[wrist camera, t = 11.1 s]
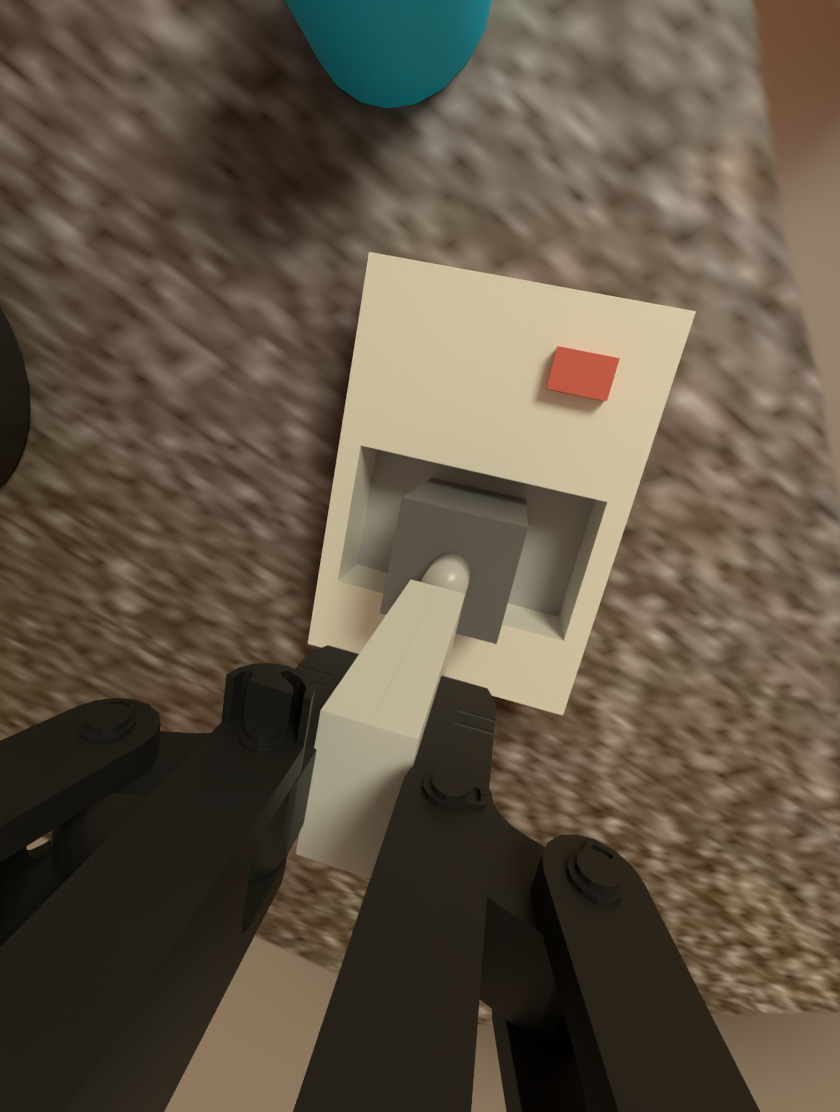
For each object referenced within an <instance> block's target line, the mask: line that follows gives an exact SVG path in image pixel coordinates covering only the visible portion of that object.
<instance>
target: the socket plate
mask: <svg viewBox="0 0 840 1112" xmlns="http://www.w3.org/2000/svg"><path fill="white" fill-rule="evenodd" d="M695 312H696V311H690V310H685V309H679V308H674V307H668V306H663V305H657V304H652V303H646V302H641V301H635V300H630V299H624V298H619V297H613V296H608V295H602V294H597V293H591V292H586V291H580V290H575V289H569V288H564V287H559V286H553V285H548V284H542V283H537V282H531V281H526V280H520V279H515V278H509V277H504V276H498V275H493V274H487V273H482V272H476V271H471V270H465V269H460V268H454V267H449V266H443V265H438V264H432V263H427V262H421V261H416V260H410V259H405V258H399V257H394V256H388V255H383V254H377V253H372V252H369V256H368V263H367V269H366V276H365V282H364V288H363V295H362V301H361V307H360V314H359V320H358V327H357V333H356V339H355V346H354V352H353V358H352V365H351V371H350V378H349V384H348V390H347V397H346V403H345V409H344V416H343V422H342V429H341V435H340V441H339V448H338V454H337V460H336V467H335V473H334V480H333V486H332V492H331V499H330V505H329V511H328V518H327V524H326V531H325V537H324V543H323V550H322V556H321V562H320V569H319V575H318V582H317V588H316V594H315V601H314V607H313V613H312V620H311V626H310V633H309V639H308V644H311V645H314V646H318V647H321V648H322V647H324V646H327V645H329V646H333V647H336V648H340V649H343V650H347V651H350V652H354V653H357V654H360V652H361V651H362V650H363V648H364V647H365V645H366V644H367V642H368V641H369V639H370V638H371V636H372V635H373V634H374V632H375V631H376V629H377V628H378V626H379V625H380V623H381V622H382V621H383V619H384V618H385V616H386V615H385V614H381V613H380V609H381V604H382V599H383V594H384V589H385V583H386V578H387V573H388V568H389V563H390V558H391V552H392V547H393V542H394V537H395V532H396V527H397V522H398V516H399V511H400V506H401V501H402V497H404V496H405V495H407V494H408V493H410V492H411V491H413V490H414V489H416V488H417V487H419V486H420V485H422V484H423V483H425V482H426V481H427V480H429V479H430V478H436V479H441V480H445V481H449V482H454V483H458V484H463V485H467V486H471V487H476V488H480V489H484V490H489V491H493V492H497V493H502V494H506V495H510V496H515V497H519V498H523V499H526V505H527V518H528V530H527V534H526V537H525V541H524V545H523V548H522V552H521V556H520V560H519V563H518V567H517V571H516V574H515V578H514V582H513V586H512V589H511V593H510V597H509V600H508V604H507V608H506V611H505V615H504V619H503V623H502V626H501V630H500V634H499V637H498V641H497V644H494V643H490V642H486V641H482V640H479V639H475V638H471V637H467V636H464V635H460V634H455V638H454V642H453V646H452V650H451V654H450V658H449V662H448V666H447V670H446V674H445V676H446V677H449V678H453V679H456V680H460V681H463V682H467V683H471V684H474V685H478V686H481V687H485V688H488V690H489V692H490V694H491V695H492V696H496V697H499V698H503V699H506V700H510V701H513V702H517V703H520V704H524V705H528V706H531V707H535V708H538V709H542V710H545V711H549V712H552V713H556V714H560V715H563V714H564V711H565V707H566V704H567V701H568V698H569V695H570V692H571V689H572V686H573V683H574V680H575V677H576V674H577V671H578V668H579V665H580V662H581V659H582V656H583V653H584V650H585V647H586V644H587V641H588V638H589V635H590V632H591V628H592V625H593V622H594V619H595V616H596V613H597V610H598V607H599V604H600V601H601V598H602V595H603V592H604V589H605V586H606V583H607V580H608V577H609V574H610V571H611V568H612V565H613V562H614V559H615V556H616V553H617V549H618V546H619V543H620V540H621V537H622V534H623V531H624V528H625V525H626V522H627V519H628V516H629V513H630V510H631V507H632V504H633V501H634V498H635V495H636V492H637V489H638V486H639V483H640V480H641V477H642V474H643V470H644V467H645V464H646V461H647V458H648V455H649V452H650V449H651V446H652V443H653V440H654V437H655V434H656V431H657V428H658V425H659V422H660V419H661V416H662V413H663V410H664V407H665V404H666V401H667V398H668V395H669V391H670V388H671V385H672V382H673V379H674V376H675V373H676V370H677V367H678V364H679V361H680V358H681V355H682V352H683V349H684V346H685V343H686V340H687V337H688V334H689V331H690V328H691V325H692V322H693V319H694V316H695Z"/></svg>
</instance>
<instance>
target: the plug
mask: <svg viewBox="0 0 840 1112" xmlns="http://www.w3.org/2000/svg"><path fill="white" fill-rule="evenodd" d="M527 530H528V518H527V505H526V499H523V498H519V497H515V496H510V495H506V494H502V493H497V492H493V491H489V490H484V489H480V488H476V487H471V486H467V485H463V484H458V483H454V482H449V481H445V480H441V479H436V478H430V479H429V480H427V481H426V482H425V483H423V484H422V485H420V486H419V487H417V488H416V489H414V490H413V491H411V492H410V493H408V494H407V495H405V496H404V497H402V501H401V506H400V511H399V516H398V522H397V527H396V532H395V537H394V542H393V547H392V552H391V558H390V563H389V568H388V573H387V578H386V583H385V589H384V594H383V599H382V604H381V609H380V613H381V614H385V615H387V613H388V612H389V610H390V609H391V607H392V606H393V605H394V603H395V602H396V600H397V599H398V597H399V596H400V594H401V593H402V591H403V590H404V589H405V587H406V586H407V584H408V583H409V581H410V580H415V581H418V582H422V583H426V584H430V585H434V586H438V587H442V588H445V589H449V590H453V591H457V592H461V593H465V597H464V601H463V605H462V609H461V614H460V618H459V622H458V626H457V630H456V634H460V635H464V636H467V637H471V638H475V639H479V640H482V641H486V642H490V643H494V644H497V641H498V637H499V634H500V630H501V626H502V623H503V619H504V615H505V611H506V608H507V604H508V600H509V597H510V593H511V589H512V586H513V582H514V578H515V574H516V571H517V567H518V563H519V560H520V556H521V552H522V548H523V545H524V541H525V537H526V534H527Z"/></svg>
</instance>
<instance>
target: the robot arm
mask: <svg viewBox="0 0 840 1112" xmlns="http://www.w3.org/2000/svg"><path fill="white" fill-rule="evenodd" d="M28 421H29V392H28V383H27V377H26V372H25V367H24V363H23V359H22V356H21V352H20V349H19V347H18V344H17V341H16V339H15V336H14V334H13V331H12V329H11V327H10V325H9V323H8V321H7V319H6V317H5V315H4V314H3V312H2V310H1V308H0V485H1V484H2V483H3V482H4V481H5V480H6V479H7V477H8V476H9V475H10V474H11V472H12V470H13V469H14V467H15V465H16V463H17V461H18V459H19V457H20V455H21V452H22V449H23V446H24V443H25V439H26V435H27V429H28ZM464 597H465V593H461V592H457V591H453V590H449V589H445V588H442V587H438V586H434V585H430V584H426V583H422V582H418V581H415V580H410V581H409V583H408V584H407V586H406V587H405V589H404V590H403V591H402V593H401V594H400V596H399V597H398V599H397V600H396V602H395V603H394V605H393V606H392V607H391V609H390V610H389V612H388V613H387V615H386V616H385V618H384V619H383V621H382V622H381V623H380V625H379V626H378V628H377V629H376V631H375V632H374V634H373V635H372V636H371V638H370V639H369V641H368V642H367V644H366V645H365V647H364V648H363V650H362V651H361V652H360V654H357V653H354V652H350V651H347V650H343V649H340V648H336V647H333V646H329V645H327V646H324V647H322V648H320V649H317V650H315V651H313V652H310V653H309V654H308V655H307V656H306V657H305V658H304V659H303V660H302V662H301V663H300V664H299V665H298V667H296V668H295V669H293V668H291V667H289V666H284V665H278V664H272V663H266V664H251V665H247V666H243V667H239V668H237V669H235V670H234V671H232V672H230V673H228V674H227V676H226V685H225V694H224V703H223V713H222V722H221V723H220V724H219V725H218V726H217V727H216V728H215V729H214V730H213V732H212V733H180V732H165V731H160V719H159V714H158V712H157V711H156V710H155V709H154V708H152V707H151V706H150V705H149V704H146V703H143V702H140V701H137V700H135V699H123V698H112V699H104V700H96V701H93V702H90V703H86V704H83V705H80V706H77V707H75V708H73V709H70V710H68V711H66V712H64V713H61V714H59V715H57V716H55V717H52V718H50V719H48V720H46V721H43V722H41V723H39V724H37V725H35V726H32V727H30V728H28V729H26V730H23V731H21V732H19V733H17V734H14V735H12V736H10V737H8V738H5V739H3V740H1V741H0V1112H164V1111H165V1109H166V1107H167V1105H168V1103H169V1101H170V1099H171V1097H172V1095H173V1093H174V1091H175V1089H176V1088H177V1086H178V1084H179V1082H180V1080H181V1078H182V1076H183V1074H184V1072H185V1070H186V1068H187V1066H188V1064H189V1062H190V1060H191V1058H192V1056H193V1054H194V1052H195V1050H196V1049H197V1047H198V1045H199V1043H200V1041H201V1039H202V1037H203V1035H204V1033H205V1031H206V1029H207V1027H208V1025H209V1023H210V1021H211V1019H212V1017H213V1015H214V1014H215V1012H216V1010H217V1008H218V1006H219V1004H220V1002H221V1000H222V998H223V996H224V994H225V992H226V990H227V988H228V986H229V984H230V982H231V980H232V978H233V977H234V974H235V973H236V971H237V969H238V967H239V965H240V963H241V961H242V959H243V957H244V955H245V953H246V951H247V949H248V947H249V945H250V943H251V941H252V939H253V938H254V936H255V934H256V932H257V930H258V928H259V926H260V924H261V922H262V920H263V918H264V916H265V914H266V912H267V910H268V908H269V906H270V904H271V902H272V901H273V899H274V897H275V895H276V893H277V891H278V889H279V887H280V885H281V882H282V879H283V875H284V871H285V867H286V860H287V854H288V852H289V850H290V849H291V847H292V845H293V843H294V841H295V839H296V837H297V836H298V834H299V839H298V845H297V851H296V854H297V855H300V856H303V857H306V858H309V859H312V860H315V861H318V862H321V863H324V864H327V865H330V866H333V867H336V868H339V869H342V870H345V871H348V872H351V873H354V874H357V875H360V876H363V877H366V878H368V879H370V881H369V884H368V887H367V890H366V893H365V896H364V899H363V902H362V905H361V908H360V911H359V914H358V917H357V920H356V923H355V926H354V929H353V932H352V936H351V939H350V942H349V945H348V948H347V951H346V954H345V957H344V960H343V963H342V966H341V969H340V972H339V975H338V978H337V981H336V984H335V987H334V990H333V993H332V996H331V999H330V1002H329V1005H328V1008H327V1011H326V1014H325V1017H324V1020H323V1023H322V1026H321V1029H320V1032H319V1035H318V1038H317V1041H316V1044H315V1047H314V1050H313V1053H312V1056H311V1059H310V1062H309V1065H308V1068H307V1071H306V1074H305V1077H304V1080H303V1083H302V1086H301V1089H300V1092H299V1095H298V1098H297V1101H296V1104H295V1107H294V1110H293V1112H471V1105H472V1091H473V1078H474V1065H475V1050H476V1038H477V1025H478V1011H479V999H480V1000H481V1001H483V1002H484V1003H485V1004H486V1005H488V1006H489V1007H490V1008H492V1021H493V1027H494V1034H495V1040H496V1046H497V1053H498V1059H499V1066H500V1072H501V1079H502V1085H503V1091H504V1098H505V1104H506V1111H507V1112H760V1110H759V1108H758V1107H757V1104H756V1103H755V1101H754V1099H753V1097H752V1095H751V1093H750V1091H749V1089H748V1087H747V1085H746V1083H745V1081H744V1079H743V1077H742V1075H741V1073H740V1071H739V1069H738V1067H737V1065H736V1063H735V1061H734V1059H733V1057H732V1055H731V1053H730V1052H729V1050H728V1047H727V1045H726V1043H725V1042H724V1040H723V1038H722V1036H721V1034H720V1032H719V1030H718V1028H717V1026H716V1024H715V1022H714V1020H713V1018H712V1016H711V1014H710V1012H709V1010H708V1008H707V1006H706V1004H705V1002H704V1000H703V998H702V996H701V994H700V992H699V990H698V988H697V986H696V984H695V982H694V981H693V979H692V977H691V975H690V973H689V971H688V969H687V967H686V965H685V963H684V961H683V959H682V957H681V955H680V953H679V951H678V949H677V947H676V945H675V943H674V941H673V939H672V937H671V935H670V933H669V931H668V929H667V927H666V925H665V923H664V921H663V920H662V918H661V916H660V914H659V912H658V910H657V908H656V906H655V904H654V902H653V900H652V898H651V896H650V894H649V892H648V890H647V888H646V886H645V884H644V882H643V881H642V880H641V878H640V877H639V875H638V874H637V872H636V871H635V870H634V868H633V867H632V865H630V864H629V863H628V862H627V861H626V860H625V859H624V858H623V857H622V856H620V855H619V854H618V853H617V852H616V851H615V850H613V849H611V848H609V847H608V846H606V845H604V844H602V843H601V842H599V841H597V840H595V839H591V838H588V837H584V836H580V835H577V834H576V835H560V836H558V837H556V838H554V839H553V840H551V841H549V842H548V843H547V845H546V847H544V846H542V845H541V844H539V843H537V842H536V841H534V840H532V839H531V838H529V837H527V836H526V835H524V834H523V833H521V832H520V831H518V830H517V829H515V828H514V827H513V826H511V825H510V824H509V823H508V822H507V821H506V820H505V819H504V818H503V817H502V816H501V814H500V813H499V811H498V810H497V809H496V807H495V806H494V804H493V799H492V793H491V791H490V789H489V782H490V771H491V759H492V748H493V734H494V725H495V722H494V721H495V713H496V703H495V701H494V699H493V697H492V695H491V694H490V692H489V690H488V688H485V687H481V686H478V685H474V684H471V683H467V682H463V681H460V680H456V679H453V678H449V677H446V676H445V674H446V670H447V666H448V662H449V658H450V654H451V650H452V646H453V642H454V638H455V634H456V630H457V626H458V622H459V618H460V614H461V609H462V605H463V601H464ZM50 831H51V840H49V841H48V842H46V843H45V844H43V845H41V846H38V847H36V848H34V849H32V850H27V849H26V846H28V845H29V844H31V843H32V842H34V841H36V840H37V839H39V838H40V837H42V836H44V835H45V834H47V833H48V832H50ZM299 832H300V833H299Z"/></svg>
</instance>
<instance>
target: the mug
mask: <svg viewBox="0 0 840 1112" xmlns="http://www.w3.org/2000/svg"><path fill="white" fill-rule="evenodd" d="M285 2H286V4H287V5H288V7H289V9H290V11H291V12H292V14H293V16H294V18H295V20H296V21H297V23H298V25H299V27H300V28H301V30H302V32H303V34H304V36H305V37H306V39H307V41H308V43H309V44H310V46H311V48H312V50H313V51H314V53H315V55H316V57H317V59H318V60H319V62H320V63H321V65H322V66H323V67H324V69H325V70H326V72H327V73H328V74H329V76H330V77H331V78H332V80H333V81H334V83H335V84H336V85H337V86H338V87H339V88H341V89H342V90H344V91H345V92H346V93H348V94H349V95H351V96H352V97H354V98H355V99H357V100H358V101H359V102H362V103H366V104H370V105H375V106H379V107H384V108H394V107H400V106H406V105H412V104H417V103H419V102H420V101H422V100H424V99H426V98H427V97H429V96H431V95H433V94H435V93H436V92H438V91H440V90H442V89H443V88H444V87H445V86H446V85H447V84H448V83H449V82H450V81H451V80H452V79H453V78H454V77H455V76H456V75H457V74H458V72H459V71H460V70H461V69H462V68H463V67H464V66H465V65H466V64H467V63H468V61H469V59H470V57H471V55H472V53H473V51H474V49H475V47H476V46H477V44H478V42H479V40H480V38H481V36H482V34H483V32H484V31H485V27H486V23H487V19H488V15H489V10H490V6H491V2H492V0H285Z"/></svg>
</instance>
